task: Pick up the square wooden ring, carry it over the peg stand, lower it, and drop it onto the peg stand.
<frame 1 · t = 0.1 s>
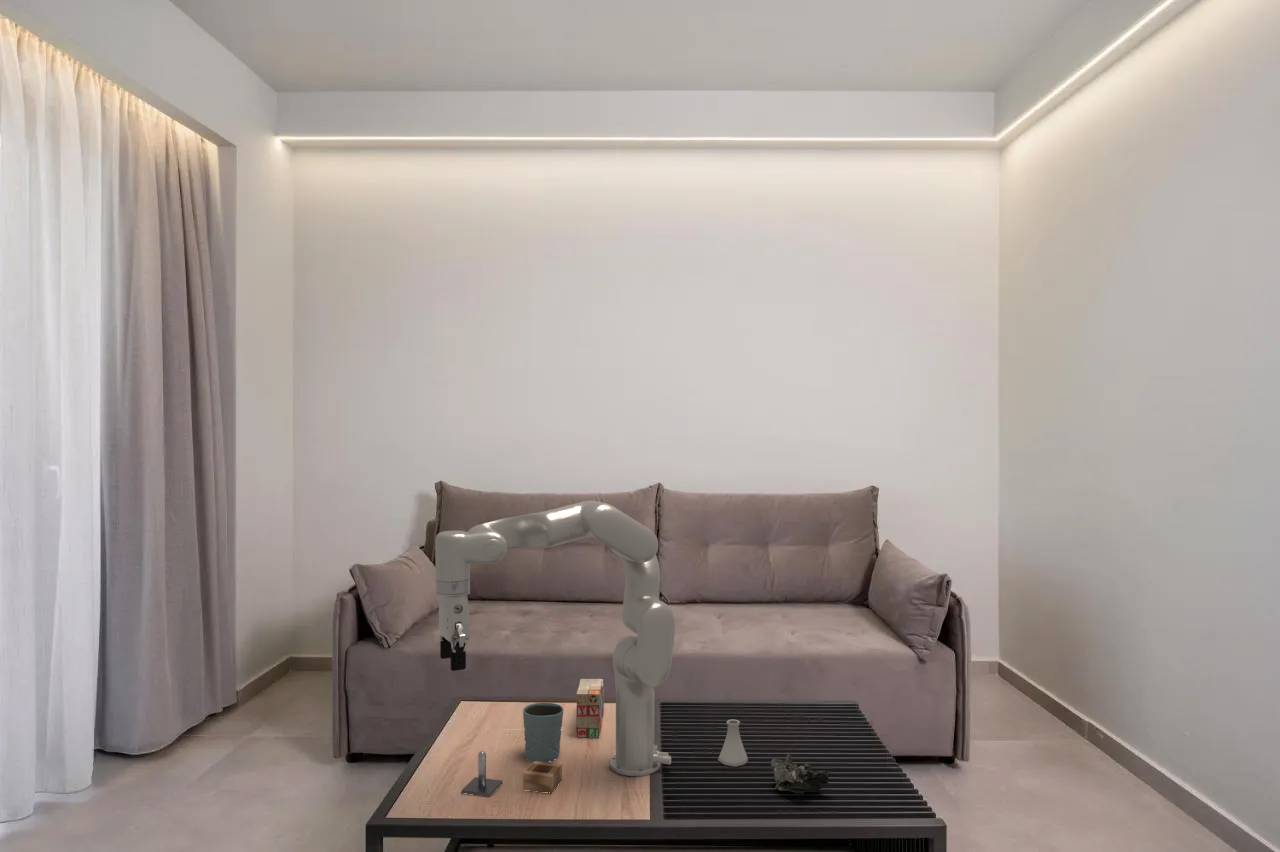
hand: (452, 663, 187), 31 cm above the table, tool pointing down, fingers open, 9 cm apart
square wooden ring: (542, 785, 196), on the table
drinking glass: (543, 756, 213), on the table
stack of blocks: (590, 724, 235), on the table
mineral specimen: (799, 789, 195), on the table
flask: (733, 762, 210), on the table
peg stand: (482, 788, 194), on the table
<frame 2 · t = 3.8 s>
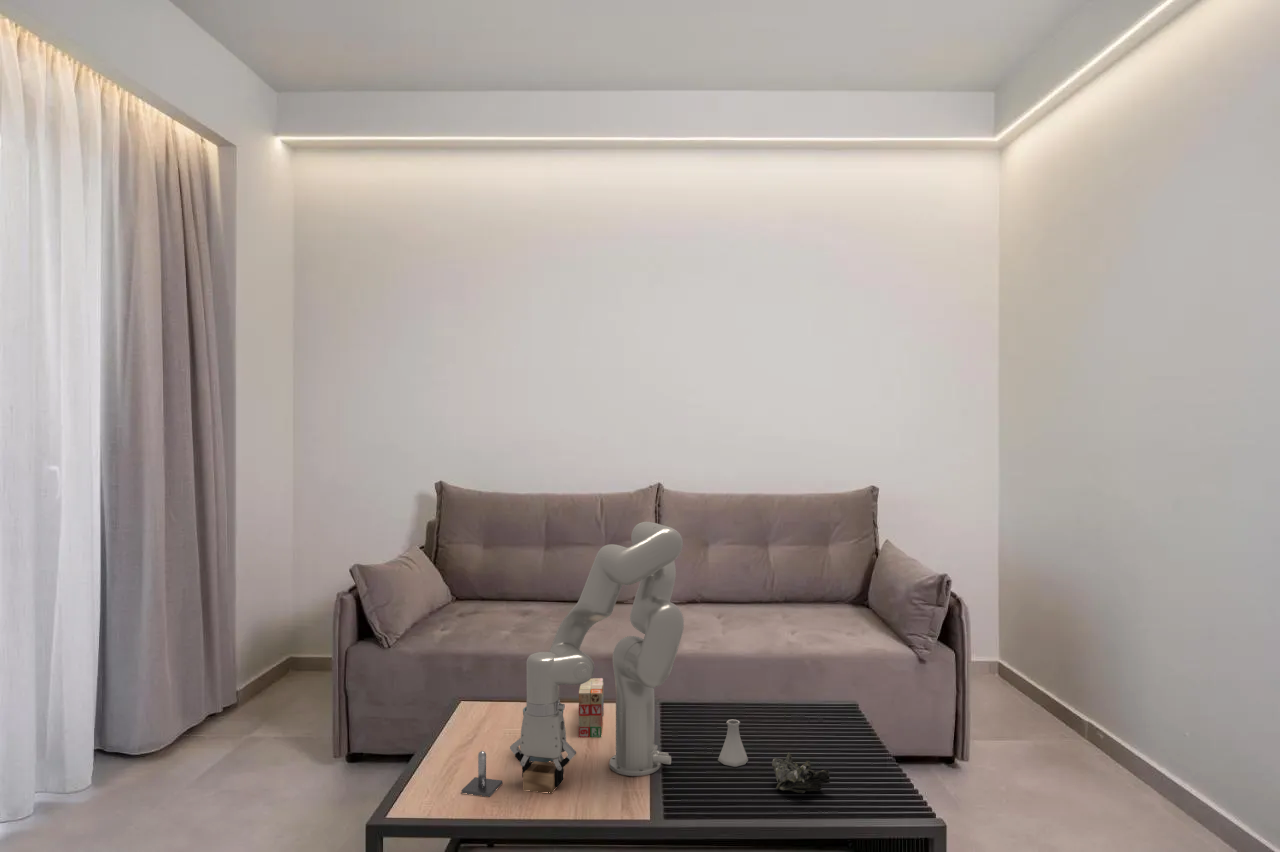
hand: (542, 782, 196), 1 cm above the table, tool pointing down, fingers closed on square wooden ring, 7 cm apart
square wooden ring: (542, 785, 196), on the table, touching gripper
everything else where it was.
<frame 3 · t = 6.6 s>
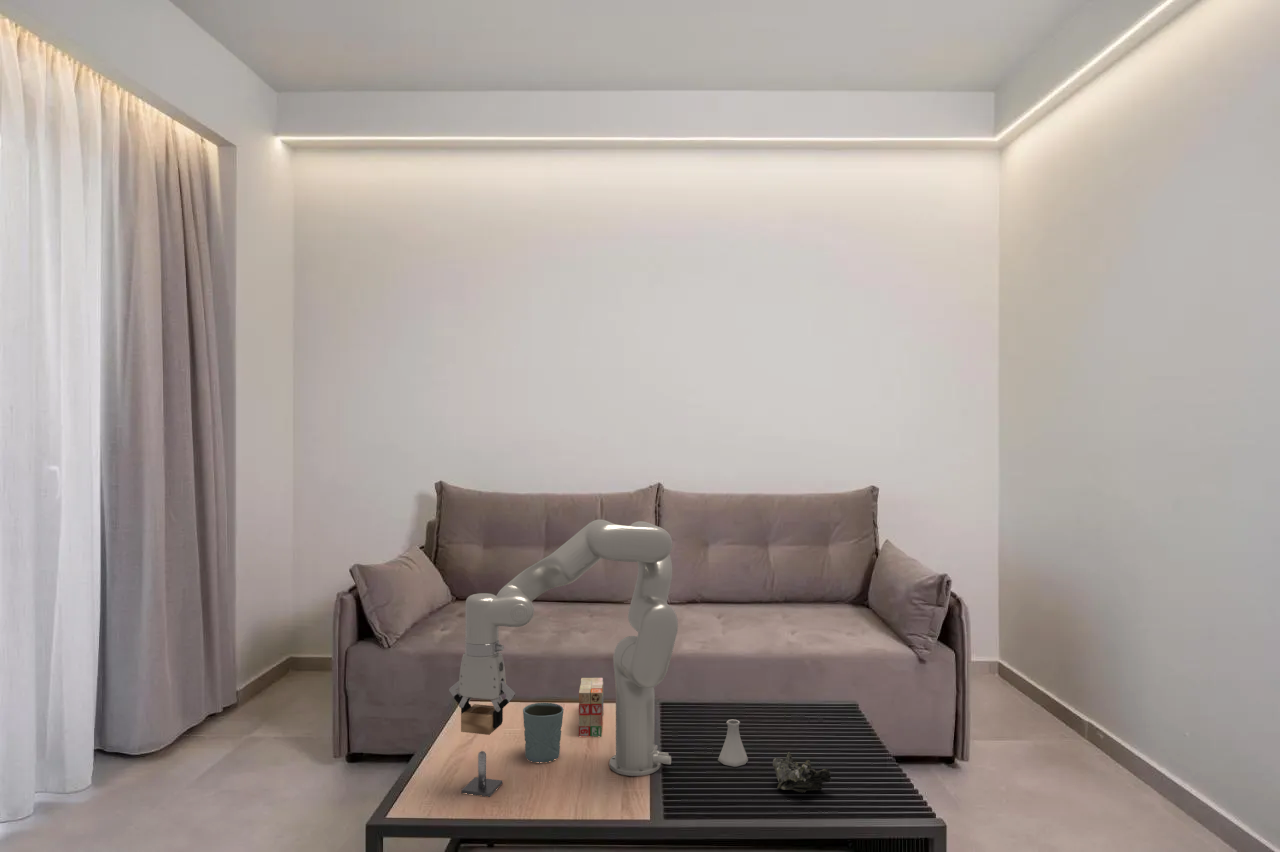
hand: (481, 724, 194), 15 cm above the table, tool pointing down, fingers closed on square wooden ring, 7 cm apart
square wooden ring: (481, 727, 194), point 14 cm above the table, touching gripper
everything else where it was.
when the fingers open (6 cm above the table, at t = 9.4 s): square wooden ring drops 5 cm, resting on peg stand.
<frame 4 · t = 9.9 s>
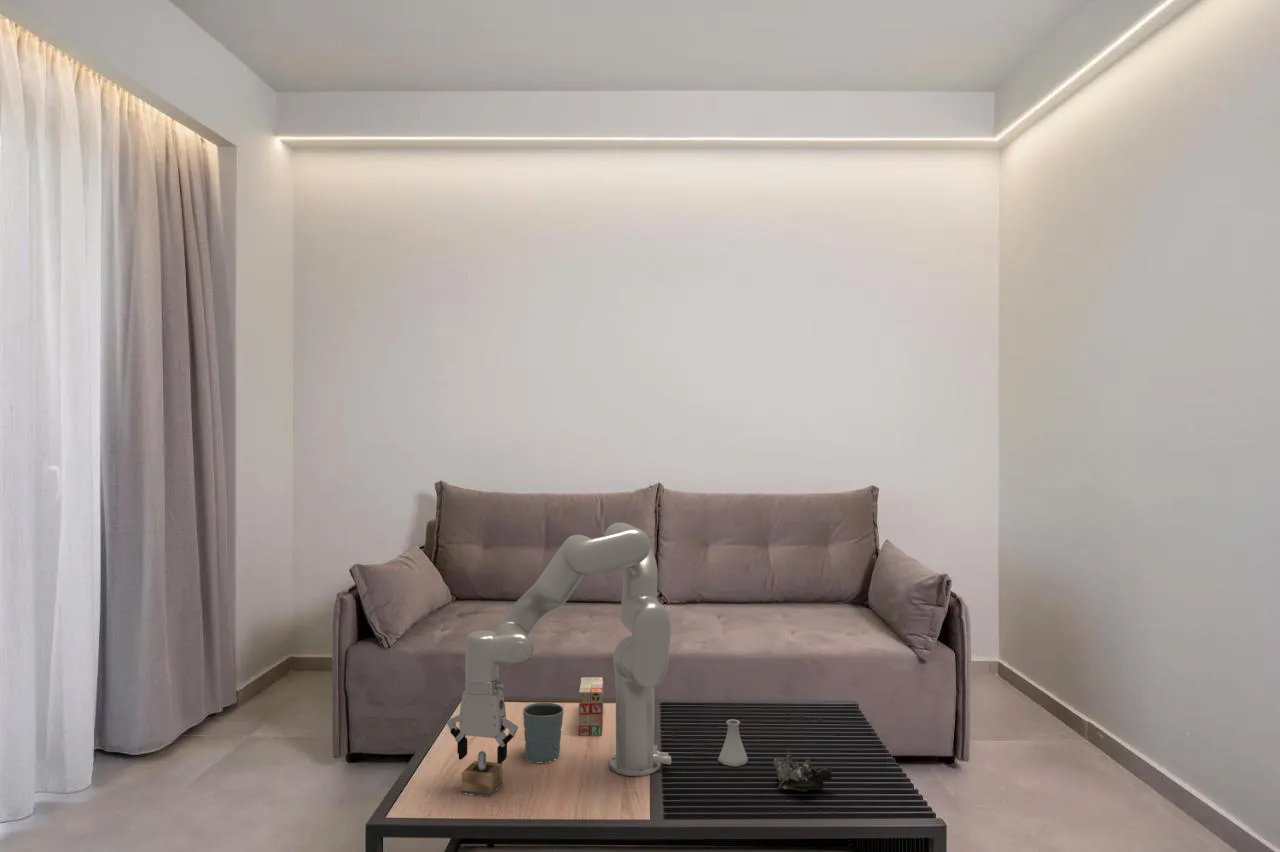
hand: (482, 759, 194), 7 cm above the table, tool pointing down, fingers open, 9 cm apart
square wooden ring: (482, 785, 194), point 1 cm above the table, touching peg stand
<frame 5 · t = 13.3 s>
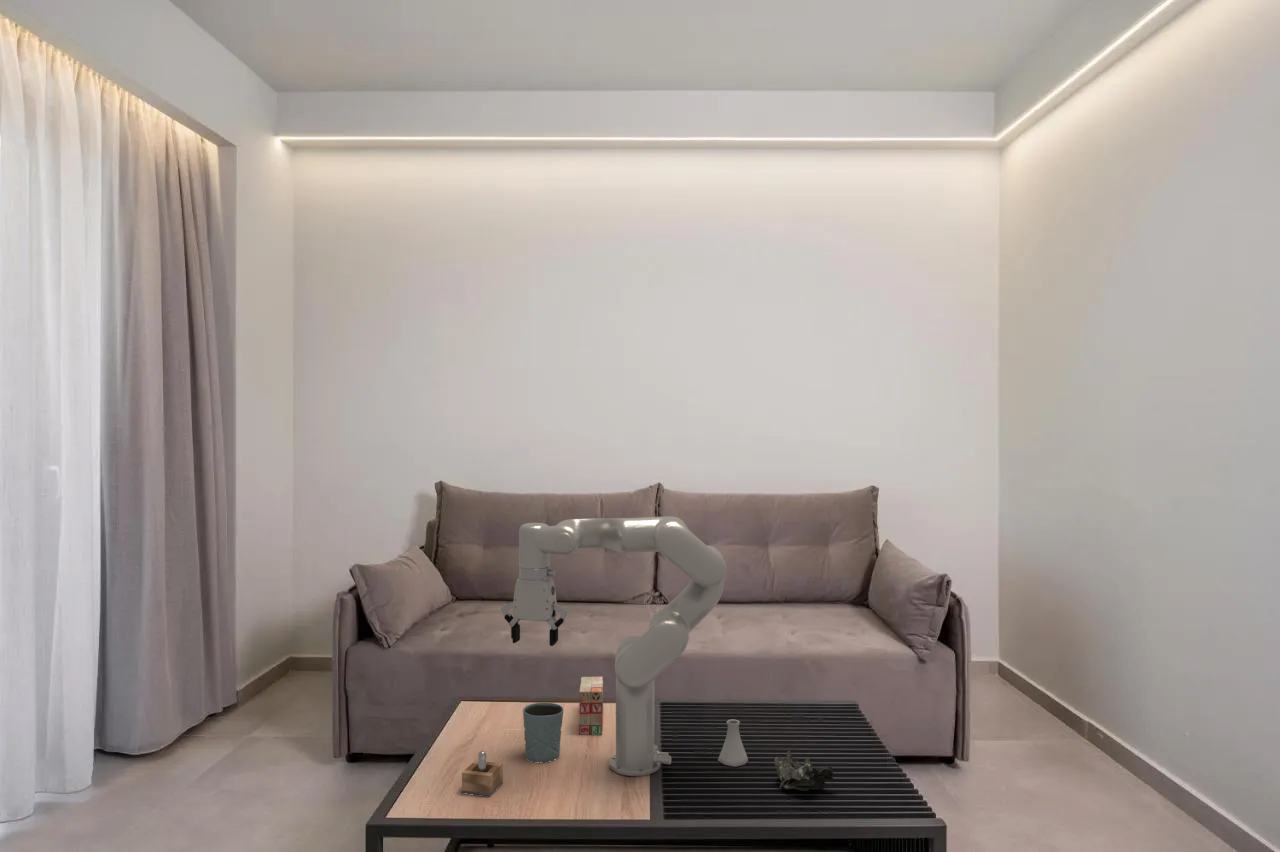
hand: (534, 643, 207), 30 cm above the table, tool pointing down, fingers open, 9 cm apart
at the end: square wooden ring 0.1 cm off-centre on the peg stand, point 0.8 cm above the peg stand's base; the gripper is holding nothing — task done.
